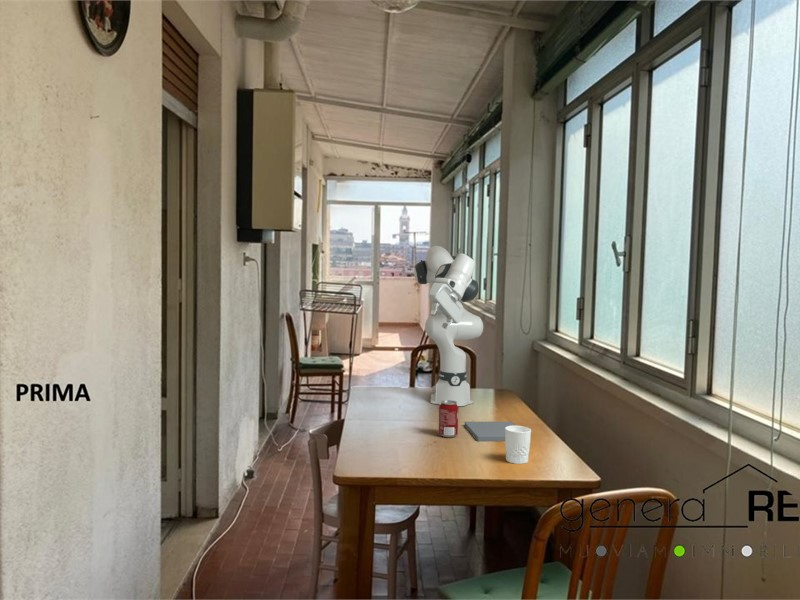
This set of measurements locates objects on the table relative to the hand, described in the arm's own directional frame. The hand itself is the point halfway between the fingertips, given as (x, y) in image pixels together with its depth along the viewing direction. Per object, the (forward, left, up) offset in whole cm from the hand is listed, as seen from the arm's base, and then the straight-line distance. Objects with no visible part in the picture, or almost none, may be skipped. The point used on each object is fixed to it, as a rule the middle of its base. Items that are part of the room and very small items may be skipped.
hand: (438, 321), depth 228 cm
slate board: (+13, +19, -39) cm, 45 cm away
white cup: (+44, +17, -39) cm, 62 cm away
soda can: (+16, +1, -39) cm, 42 cm away
